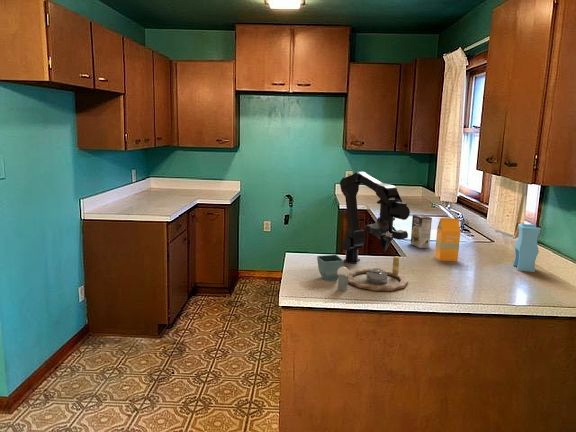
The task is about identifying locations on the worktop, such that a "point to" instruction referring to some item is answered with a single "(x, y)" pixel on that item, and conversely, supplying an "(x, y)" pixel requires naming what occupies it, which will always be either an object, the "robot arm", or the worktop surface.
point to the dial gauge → (342, 278)
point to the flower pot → (329, 266)
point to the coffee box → (421, 231)
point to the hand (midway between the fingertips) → (384, 251)
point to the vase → (526, 247)
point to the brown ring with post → (380, 288)
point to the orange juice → (447, 239)
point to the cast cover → (376, 276)
